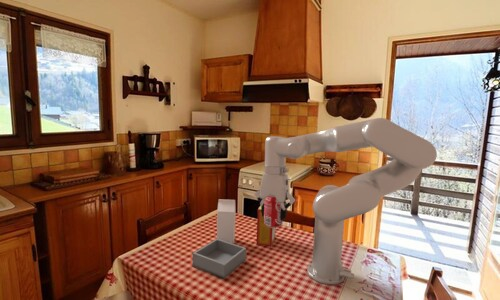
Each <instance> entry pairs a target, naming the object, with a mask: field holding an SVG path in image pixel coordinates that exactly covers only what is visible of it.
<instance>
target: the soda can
mask: <svg viewBox="0 0 500 300" xmlns="http://www.w3.org/2000/svg"><path fill="white" fill-rule="evenodd" d="M281 210H282V207H281V205H280V202H279V201H278V200H277V199H276V196H270V195H267V197H266V198H265V201H264V224H265V225H267V226H268V227H270V228H276V229H278V228H279V227H281V226H283V222H284V220H283V221H282V220H280V218H281Z"/></svg>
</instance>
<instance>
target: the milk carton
mask: <svg viewBox="0 0 500 300" xmlns="http://www.w3.org/2000/svg"><path fill="white" fill-rule="evenodd" d="M236 207H237V206H236V199H221V198H220V199H218V202H217V211H216V239H220V240H223V241H226V242H229V243H232V244H235V239H236V209H237V208H236Z"/></svg>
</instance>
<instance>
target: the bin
mask: <svg viewBox="0 0 500 300" xmlns="http://www.w3.org/2000/svg"><path fill="white" fill-rule="evenodd" d="M246 261H247V247H244V246H241V245H238V244H235V243H234V244H232V243H229V242H226V241H223V240H220V239H217V238H215V239H214V240H212V241H210V242H208V243H207V244H205V245H204V246H202V247H200V248H198V249H197V250H196V251H193V252H192V265H191V266H192V267H193V268H196V269H198V270H201V271H203V272H205V273H208V274H210V275H213V276H215V277H217V278H220V279H223V280H225V279H226V278H227V277H228V276H230V275H231V274H232V273H233V272H234V271H236V270H237V269H238V268H239V267H240V266H241V265H243V264H244V263H245V262H246Z"/></svg>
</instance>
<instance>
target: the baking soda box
mask: <svg viewBox="0 0 500 300" xmlns="http://www.w3.org/2000/svg"><path fill="white" fill-rule="evenodd" d="M256 220H257V222H256V245H257V246H263V247H269V248H272V246H273V244H274V242H275V239H276V232H277V231H276V229H277V228H270V227H268V226H267V225H265V224H264V216H262V213H261V205H260V206H259V207H258V209H257V219H256Z"/></svg>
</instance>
